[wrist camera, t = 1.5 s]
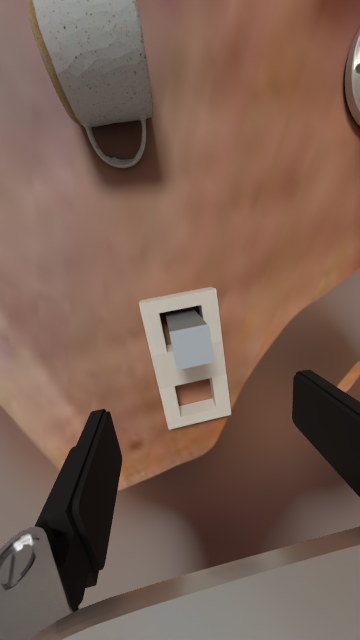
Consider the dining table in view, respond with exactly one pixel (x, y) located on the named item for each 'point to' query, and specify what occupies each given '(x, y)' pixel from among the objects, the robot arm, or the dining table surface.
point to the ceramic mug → (95, 63)
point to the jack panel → (173, 377)
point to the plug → (189, 339)
